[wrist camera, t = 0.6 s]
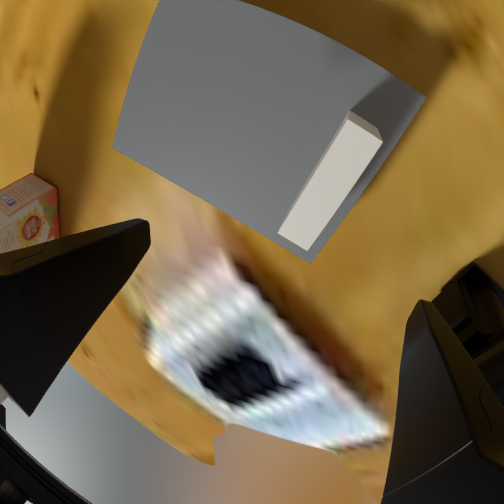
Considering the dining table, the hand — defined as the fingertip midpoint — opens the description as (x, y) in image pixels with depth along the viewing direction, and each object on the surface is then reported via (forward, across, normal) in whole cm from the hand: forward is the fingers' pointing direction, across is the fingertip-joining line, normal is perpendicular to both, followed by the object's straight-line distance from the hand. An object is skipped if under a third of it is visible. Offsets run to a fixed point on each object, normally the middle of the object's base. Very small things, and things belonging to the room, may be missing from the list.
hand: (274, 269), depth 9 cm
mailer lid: (+10, +5, -3) cm, 11 cm away
